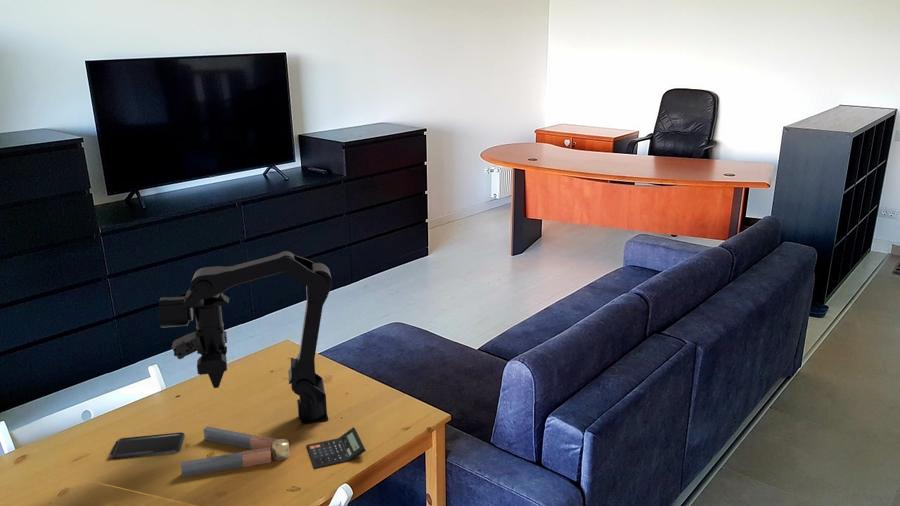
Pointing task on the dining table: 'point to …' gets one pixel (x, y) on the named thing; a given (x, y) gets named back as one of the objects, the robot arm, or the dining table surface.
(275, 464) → the dining table surface
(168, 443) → the phone
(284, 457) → the arm
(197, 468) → the bar
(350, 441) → the calculator
